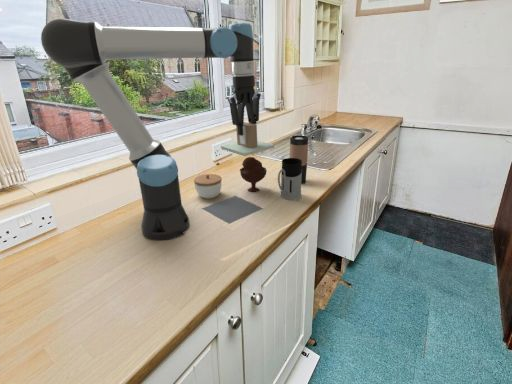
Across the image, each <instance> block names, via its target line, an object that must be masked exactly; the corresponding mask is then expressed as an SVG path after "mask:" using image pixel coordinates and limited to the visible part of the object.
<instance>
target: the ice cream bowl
mask: <svg viewBox="0 0 512 384" xmlns="http://www.w3.org/2000/svg"><path fill="white" fill-rule="evenodd" d="M241 165H242V167H241V168H240V169H239V173H240V176H241V178H242V179H243V180H244V181H245V182H247V183H250V184H251V185H250V186H251V187H250V188H247V192H249V193H252V194H253V193H258V192H260V188H258V187H256V184H257V183H259V182H260V181H262V180H263V179H264V178H265V177H266V175H267V168H266V167H264V166H263V163H262V162H261V161H260V160H258V159H257V158H255V157H253V156H248V157H245V159H244V160H243V161H242V163H241Z"/></svg>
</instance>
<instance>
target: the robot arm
mask: <svg viewBox="0 0 512 384" xmlns="http://www.w3.org/2000/svg"><path fill="white" fill-rule="evenodd" d="M40 34H41V35H40V39H41V40H40V41H41V45H42V48H43V51H44V52H45V54H46V55H47V57H49V59H50V60H51V61H53V62H54V63H55V64H57V65H59V66H61V67H63V69H64V70H65V71H66V73H67V74H68V76H69V77H70V79H71V80H72V81H73V82H76V83H79V84H81V85H82V86H83V88H84V89H85V90H86V92H87V93H88V95H89V96H90V97H91V99H92V100H93V102H94V103H95V104H96V106H97V108H99V110H100V112H101V113H102V114H103V116H104V118H106V120H107V122H108V124H110V126H111V127H112V129H113V130H114V132H115V133H116V134H117V136H118V137H119V139H120V140H121V141H122V143H123V144H124V145H125V147H126V148H127V150H128V152H129V157H128V159H129V161H130V163H132V165H133V168H135V170H136V174H137V178H138V182H139V187H140V189H139V190H140V193H141V198H142V199H141V200H142V205H143V215H142V220H141V227H140V228H141V232H142V235H143V236H144V237H145V238H146V239H149V240H153V241H165V240H167V241H168V240H171V239H172V240H173V239H174V238H175V239H176V238H177V237H179V236H182V235H184V234H185V232H186V231H187V230H188V229H189V228H190V224H191V223H190V219H189V215H188V214H187V211H186V210H185V208H184V206H183V204H182V197H181V188H180V180H179V168H178V164H177V161H176V160H175V159H174V158H173V157H172V156H171V154H170V153H169V152H168V151H167V150H166V149H165V147H164V145H163V144H162V143H161V140H157V139H154V138H153V137H152V135H151V134H150V133H149V130H148V129H147V127H146V126H145V125H144V123H143V122H142V120H141V118H140V117H139V116H138V115H139V114H138V113H136V111H135V109H134V107H133V106H132V105H131V103H130V101H129V99H128V98H127V96H126V95H125V93H124V92H123V90H122V89H121V87H120V85H118V83H117V80H116V79H115V78H114V77H113V75H112V73H111V72H110V64H111V62H110V61H109V60H112V61H113V60H153V59H158V60H159V59H209V58H210V59H212V58H213V59H216V58H217V59H227V58H229V57H230V61H231V62H230V63H231V64H230V65H231V74H232V75H233V76H232V77H231V78H232V87H233V94H232V95H231V96H228V97H227V98H226V99H227V102H228V103H229V108H230V114H231V115H230V116H231V122H232V125H233V126H237V127H238V135H240V143H241V144H246V131H245V126H243V124H244V122H245V111H246V113H247V114H246V115H247V120H248V122H247V123H251V124H256V125H257V123H258V122H259V119H260V99H261V93H260V92H256V91H255V88H254V87H255V86H256V83H255V75H253V74H254V73H255V61H254V60H255V59H254V35H253V34H254V33H253V27H252V25H251V23H246V22H245V23H244V22H243V23H242V22H239V23H230V24H229V25H228V27H225V26H224V27H223V26H218V27H205V28H202V27H163V26H162V27H157V26H156V27H155V26H154V27H153V26H152V27H151V26H148V27H147V26H144V27H142V26H136V27H135V26H101V25H100V24H99V23H98V22H96V21H82V20H75V19H74V20H73V19H68V18H56V19H53V20H50V21H49V22H48V23H47V24H45V25H44V27H43V29H42V31H41V33H40ZM245 109H246V110H245Z"/></svg>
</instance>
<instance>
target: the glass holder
mask: <svg viewBox="0 0 512 384" xmlns="http://www.w3.org/2000/svg"><path fill="white" fill-rule="evenodd" d="M301 169H302V160H300V159H297V158H290V157H287V158H283V159H282V160H281V169H280V170H279V171H278V174H277V184H278V188H279V190H280V197H281V199H284V200H288V201H297V202H298V201H301V200H302V198H303V196H302V184H301V180H302V170H301Z"/></svg>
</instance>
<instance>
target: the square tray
mask: <svg viewBox="0 0 512 384" xmlns="http://www.w3.org/2000/svg"><path fill="white" fill-rule="evenodd" d="M201 209H202V210H204V211H205V212H207V213H209V214H211V215H213V216H214V217H216V218H218V219H220V220H221V221H223V222H225V223H228V224H232V223H234V222H236V221H238V220H240V219H243V218H245V217H248V216H249V215H251V214H254V213H256V212H260V211H261V210H263V209H264V207H261V206H260V205H256V204H255V203H252V202H250V201H249V200H246V199H243V198H241V197H240V196H237V195H233V196H231V197H228V198H225V199H222V200H221V201H218V202H215V203H212V204H209V205H207V206H204V207H202V208H201Z"/></svg>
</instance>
